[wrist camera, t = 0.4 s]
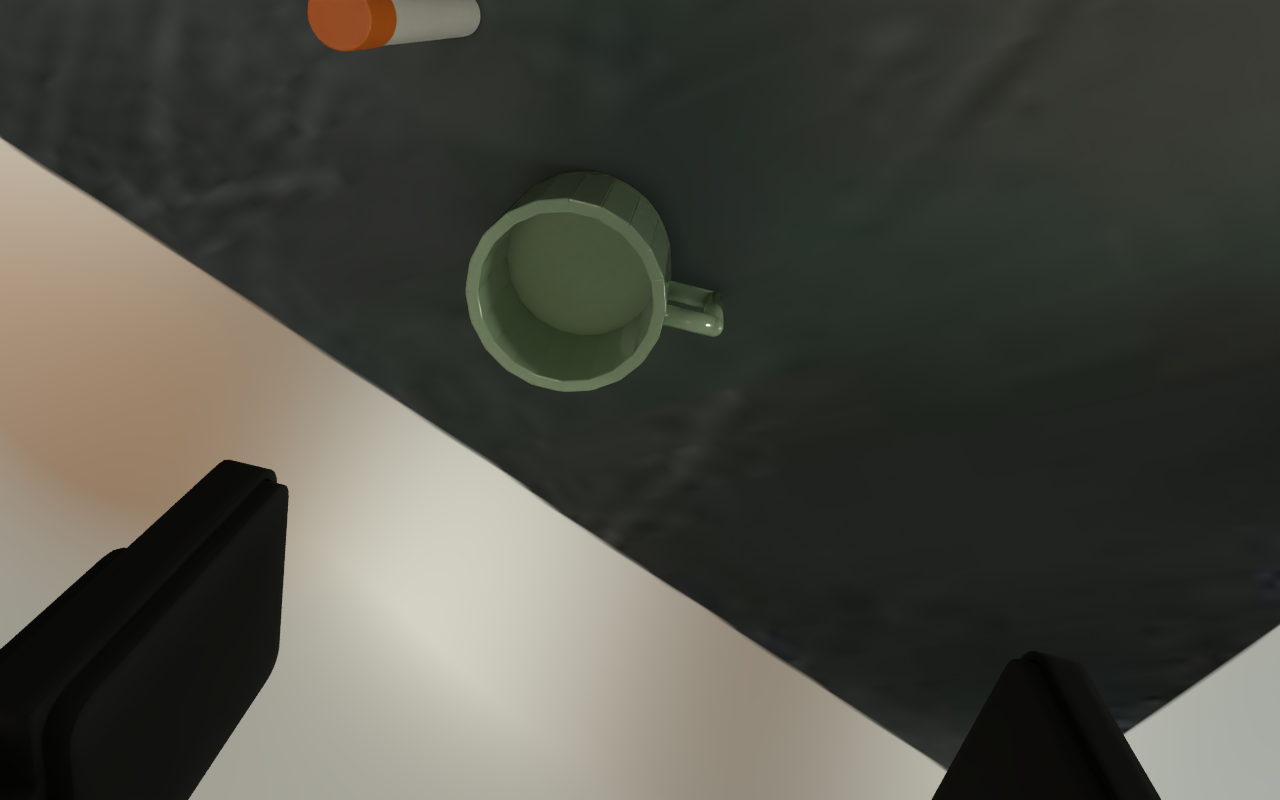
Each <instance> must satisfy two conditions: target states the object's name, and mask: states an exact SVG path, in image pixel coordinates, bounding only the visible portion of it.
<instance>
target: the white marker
mask: <svg viewBox="0 0 1280 800" xmlns="http://www.w3.org/2000/svg"><path fill="white" fill-rule="evenodd" d="M308 18H309V22H310V25H311V27H312V30H313V31H314V33H315V35H316V36H317V37H318V38H319V39H320V41H321V42H323V43H324V44H325V45H327V46H328V47H330V48H332V49H334V50H337V51H354V50H363V49H372V48H378V47H381V46H384V45H393V44H402V43H411V42H420V41H429V40H439V39H448V38H457V37H465V36H468V35H471V34H472V33H473V32H474V31H475V30H476V29H477V27H478V25H479V23H480V9H479V6H478V4H477V2H476V1H475V0H309V2H308Z"/></svg>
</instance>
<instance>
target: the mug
mask: <svg viewBox="0 0 1280 800" xmlns="http://www.w3.org/2000/svg"><path fill="white" fill-rule="evenodd" d="M671 271H672V270H671V247H670V242H669V238H668V234H667V232H666V229H665V226H664V224H663V222H662V220H661V218H660V216H659V214H658V213H657V212H656V210H655V209H654V207H653V206H652V205H651V204H650V202H649V201H648V200H647V199H646V198H645V197H644V196H643V195H642V194H641V193H639V192H638V191H637V190H636V189H634V188H633V187H631V186H630V185H628V184H627V183H625V182H623V181H621V180H619V179H617V178H615V177H612V176H609V175H605V174H602V173H596V172H589V171H575V172H566V173H562V174H558V175H555V176H552V177H549V178H547V179H545V180H543V181H541V182H539V183H538V184H536V185H534V186H533V187H531V188H530V189H529V190H528V191H527V192H526V193H525V194H524V195H523V196H521V197H520V198H519V199H518V200H517V201H516V202H515V203H514V204H513V205H512V206H511V207H510V208H509V209H508V210H507V211H506V212H505V213H504V214H503V215H502V216H501V217H500V218H499V219H498V220H497V221H496V222H495V223H494V224H493V225H492V226H491V227H490V228H489V229H488V230H487V231H486V232H485V233H484V234H483V236H482V238H481V239H480V241H479V243H478V245H477V247H476V249H475V251H474V253H473V255H472V257H471V258H470V262H469V267H468V274H467V281H466V287H465V290H466V291H465V293H466V299H467V304H468V310H469V315H470V320H471V322H472V324H473V326H474V328H475V330H476V332H477V334H478V336H479V338H480V340H481V342H482V343H483V345H484V347H485V349H486V350H487V351H488V352H489V353H490V354H491V355H492V356H493V357H494V358H495V359H496V360H497V361H498V362H499V363H500V364H501V365H502V366H503V367H504V368H505V369H506V370H507V371H509V372H511V373H513V374H514V375H516V376H518V377H520V378H521V379H523V380H525V381H527V382H528V383H530V384H533V385H536V386H540V387H544V388H548V389H552V390H557V391H563V392H568V391H589V390H594V389H597V388H600V387H603V386H605V385H608V384H611V383H614V382H616V381H619V380H621V379H622V378H624V377H625V376H626V375H627V374H629V373H630V372H631V371H633V370H634V369H635V368H636V367H638V366H639V365H640V364H642V362H643V361H644V360H645V358H646V357H647V355H648V354H649V352H650V351H651V349H652V348H653V346H654V345H655V343H656V342H657V340H658V338H659V336H660V332H661V328H662V325H665V326H669V327H674V328H678V329H682V330H686V331H690V332H694V333H698V334H702V335H706V336H710V337H716V336H718V335H720V334H721V333H722V331H723V327H724V325H723V305H722V297H721V295H720V294H719V293H718V292H715V291H712V290H708V289H704V288H699V287H695V286H691V285H687V284H683V283H679V282H675V281H671V280H670V279H671ZM668 300H671V301H675V302H679V303H683V304H687V305H691V306H695V307H699V308H703V313H701V312H697V311H693V310H689V309H685V308H681V307H677V306H673V305H669V304H667V301H668Z"/></svg>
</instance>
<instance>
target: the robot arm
mask: <svg viewBox="0 0 1280 800" xmlns="http://www.w3.org/2000/svg"><path fill="white" fill-rule="evenodd" d="M288 497H289V496H288V488H287V486H285V485H282V484H278V483H277V478H276V475H275V472H274V471H272V470H270V469H266V468H262V467H258V466H254V465H249V464H245V463H241V462H237V461H232V460H224V461H222V462H221V463H219V464H218V465H217V466H216V467H215V468H214V469H212V470H211V471H210V472H209V473H208V474H207V475H206V476H205V477H204V478H203V479H202V480H200V481H199V482H198V483H197V484H196V485H195V486H194V487H193V488H192V489H191V490H190V491H189V492H187V494H185V495H184V496H183V497H182V498H181V499H180V500H179V501H178V502H177V503H175V504H174V505H173V506H172V507H171V508H170V509H169V510H168V511H167V512H166V513H165V514H163V515H162V516H161V517H160V518H159V519H158V520H157V521H156V522H155V523H154V524H153V525H151V526H150V527H149V528H148V529H147V530H146V531H145V532H144V533H143V534H142V535H141V536H140V537H138V538H137V539H136V540H135V541H134V542H133V543H132V544H131V545H130V546H129V547H128V548H120V549H116V550H113V551H112V552H110V553H109V554H107V555H106V556H104V557H103V558H102V559H101V560H100V561H98V562H97V563H96V564H95V565H94V566H93V567H92V568H91V569H89V570H88V571H87V572H86V573H85V574H84V575H83V576H82V577H80V578H79V579H78V580H77V581H76V582H75V583H74V584H73V585H72V586H70V587H69V588H68V589H67V590H66V591H65V592H64V593H63V594H62V595H61V596H59V597H58V598H57V599H56V600H55V601H54V602H53V603H52V604H51V605H49V606H48V607H47V608H46V609H45V610H44V611H43V612H41V613H40V614H39V615H38V616H37V617H36V618H35V619H34V620H33V621H31V622H30V623H29V624H28V625H27V626H26V627H25V628H24V629H23V630H21V631H20V632H19V633H18V634H17V635H16V636H15V637H14V638H13V639H12V640H10V641H9V642H8V643H7V644H6V645H5V646H4V647H3V648H1V649H0V800H188V799H189V798H190V796H191V794H192V793H193V791H194V790H195V789H196V787H197V786H198V784H199V782H200V781H201V779H202V778H203V776H204V775H205V773H206V772H207V770H208V769H209V767H210V766H211V764H212V763H213V761H214V760H215V758H216V756H217V755H218V754H219V752H220V750H221V749H222V748H223V746H224V744H225V743H226V742H227V740H228V739H229V737H230V735H231V734H232V732H233V731H234V729H235V728H236V726H237V725H238V723H239V722H240V720H241V719H242V717H243V716H244V714H245V713H246V711H247V710H248V708H249V707H250V705H251V704H252V702H253V701H254V699H255V698H256V696H257V695H258V693H259V692H260V690H261V688H262V687H263V686H264V684H265V682H266V681H267V679H268V677H269V676H270V674H271V672H272V670H273V668H274V665H275V662H276V659H277V655H278V651H279V641H280V625H281V609H282V593H283V576H284V561H285V545H286V528H287V512H288ZM932 800H1161V798H1160V797H1159V795H1158V793H1157V792H1156V790H1155V788H1154V786H1153V785H1152V783H1151V781H1150V780H1149V778H1148V776H1147V774H1146V773H1145V771H1144V769H1143V768H1142V766H1141V764H1140V762H1139V761H1138V759H1137V757H1136V756H1135V754H1134V752H1133V750H1132V749H1131V747H1130V745H1129V744H1128V742H1127V740H1126V739H1125V737H1124V735H1123V733H1122V732H1121V730H1120V728H1119V727H1118V725H1117V723H1116V721H1115V720H1114V718H1113V716H1112V715H1111V713H1110V711H1109V709H1108V708H1107V706H1106V704H1105V703H1104V701H1103V699H1102V697H1101V696H1100V694H1099V692H1098V691H1097V689H1096V687H1095V685H1094V684H1093V682H1092V680H1091V679H1090V677H1089V675H1088V673H1087V672H1086V670H1085V669H1084V668H1083V666H1082V665H1081V664H1080V663H1078V662H1076V661H1074V660H1070V659H1065V658H1061V657H1057V656H1053V655H1048V654H1044V653H1040V652H1036V651H1031V652H1028V653H1026V654H1025V655H1023V657H1022V658H1021V659H1013V660H1011V661H1010V662H1009V663H1008V664H1007V666H1006V667H1005V669H1004V671H1003V672H1002V674H1001V676H1000V678H999V679H998V681H997V683H996V685H995V687H994V688H993V690H992V692H991V694H990V696H989V697H988V699H987V701H986V703H985V705H984V706H983V708H982V710H981V712H980V714H979V715H978V717H977V719H976V721H975V723H974V724H973V726H972V728H971V730H970V732H969V733H968V735H967V737H966V739H965V741H964V742H963V744H962V746H961V748H960V749H959V751H958V753H957V755H956V757H955V758H954V760H953V762H952V764H951V766H950V767H949V769H948V771H947V773H946V775H945V776H944V778H943V780H942V782H941V784H940V786H939V787H938V789H937V791H936V793H935V794H934V796H933V798H932Z"/></svg>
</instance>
